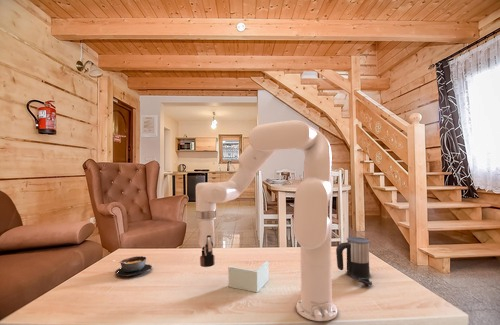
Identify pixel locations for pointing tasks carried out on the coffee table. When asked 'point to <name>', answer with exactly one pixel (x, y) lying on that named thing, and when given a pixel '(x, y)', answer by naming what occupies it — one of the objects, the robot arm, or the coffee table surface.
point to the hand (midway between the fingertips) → (207, 262)
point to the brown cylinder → (203, 261)
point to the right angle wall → (248, 277)
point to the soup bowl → (133, 266)
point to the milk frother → (355, 258)
